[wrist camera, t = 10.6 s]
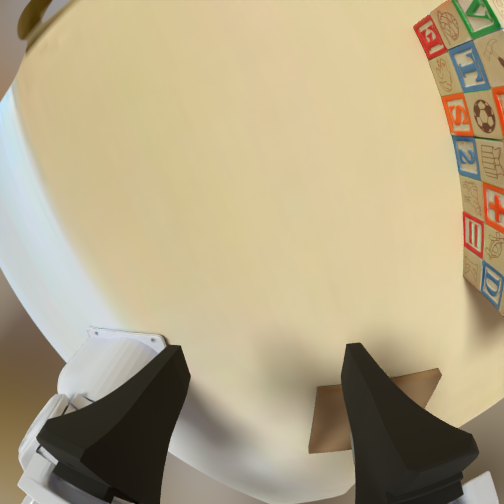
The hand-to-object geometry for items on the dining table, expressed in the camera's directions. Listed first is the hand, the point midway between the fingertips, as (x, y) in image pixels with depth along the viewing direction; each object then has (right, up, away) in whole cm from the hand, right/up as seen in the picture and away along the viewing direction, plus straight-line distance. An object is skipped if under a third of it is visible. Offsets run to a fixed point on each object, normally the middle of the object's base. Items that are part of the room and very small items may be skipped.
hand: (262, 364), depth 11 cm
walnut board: (+14, -15, +15) cm, 25 cm away
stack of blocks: (+18, +13, +4) cm, 22 cm away
